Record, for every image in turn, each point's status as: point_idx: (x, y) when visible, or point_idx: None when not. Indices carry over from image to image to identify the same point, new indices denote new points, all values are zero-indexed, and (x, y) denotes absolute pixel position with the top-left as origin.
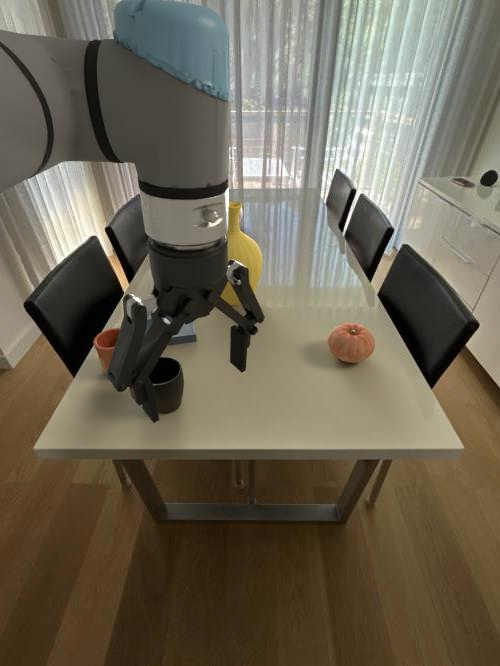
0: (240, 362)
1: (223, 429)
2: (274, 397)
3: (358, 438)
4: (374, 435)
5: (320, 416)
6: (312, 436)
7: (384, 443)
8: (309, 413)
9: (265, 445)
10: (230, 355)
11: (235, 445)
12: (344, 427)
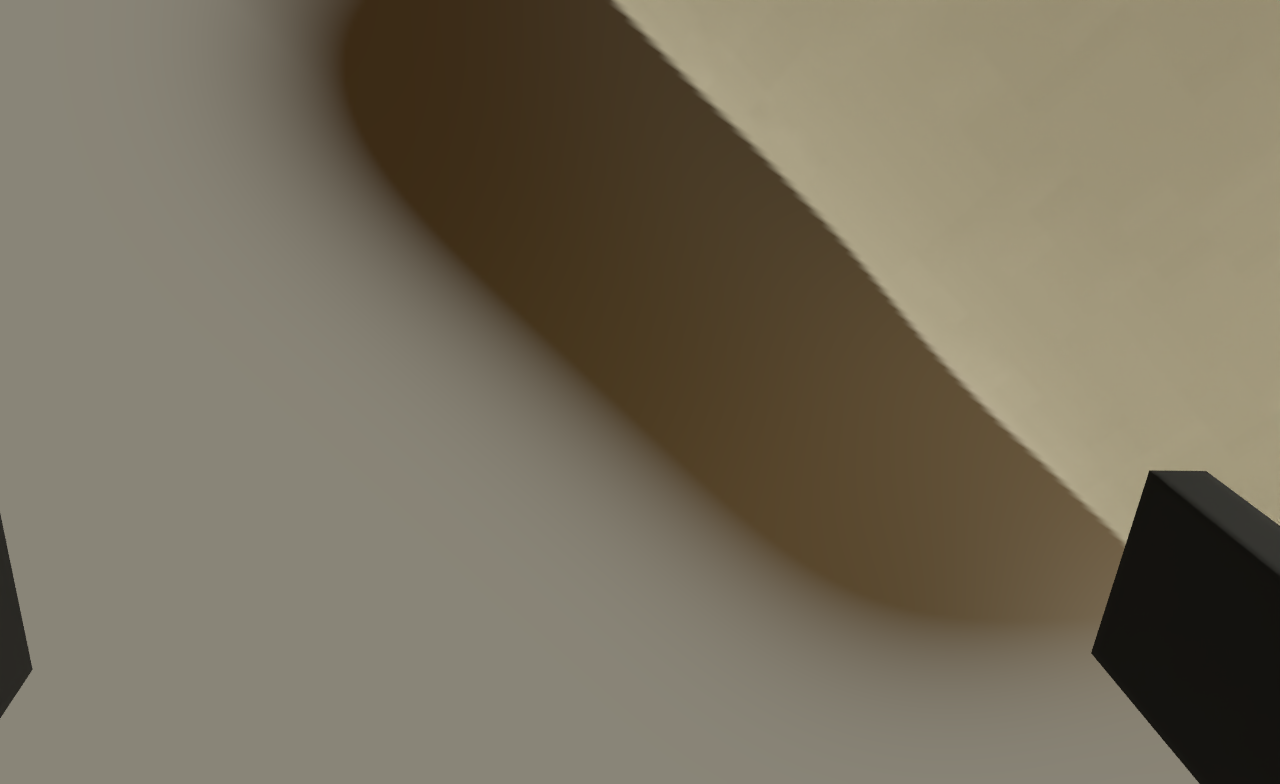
0: (1179, 722)
1: (816, 28)
2: (1207, 79)
3: None
4: None
5: (1223, 365)
6: (1085, 414)
7: None
8: (1210, 312)
9: (892, 286)
10: (1223, 537)
11: (784, 169)
12: None
